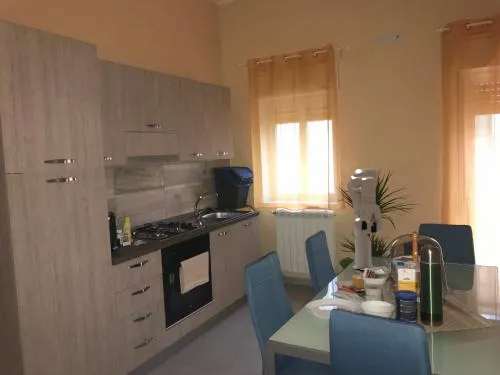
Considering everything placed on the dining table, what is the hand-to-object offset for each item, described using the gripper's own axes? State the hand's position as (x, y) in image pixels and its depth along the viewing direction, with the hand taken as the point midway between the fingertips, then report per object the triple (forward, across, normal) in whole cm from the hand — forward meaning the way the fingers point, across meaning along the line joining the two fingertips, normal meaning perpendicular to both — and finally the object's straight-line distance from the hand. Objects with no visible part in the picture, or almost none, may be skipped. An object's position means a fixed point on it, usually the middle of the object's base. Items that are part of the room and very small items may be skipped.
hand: (369, 231), depth 221 cm
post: (+27, +10, -12) cm, 31 cm away
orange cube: (+26, +10, -12) cm, 31 cm away
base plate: (+28, +10, -12) cm, 32 cm away
